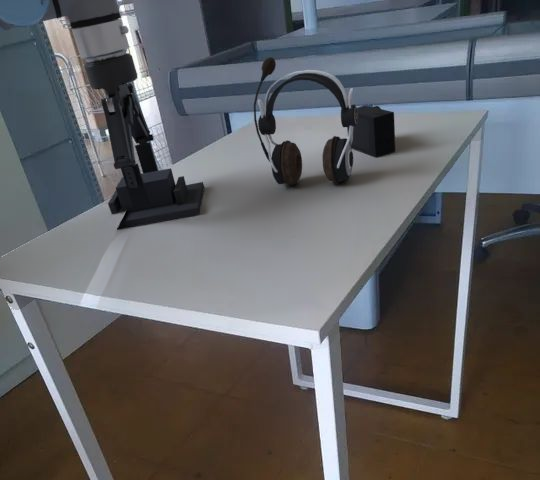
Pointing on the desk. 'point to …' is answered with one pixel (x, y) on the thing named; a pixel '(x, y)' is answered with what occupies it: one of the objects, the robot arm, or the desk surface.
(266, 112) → the headset
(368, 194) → the desk surface
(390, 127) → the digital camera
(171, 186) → the foam pad
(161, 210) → the base pad
